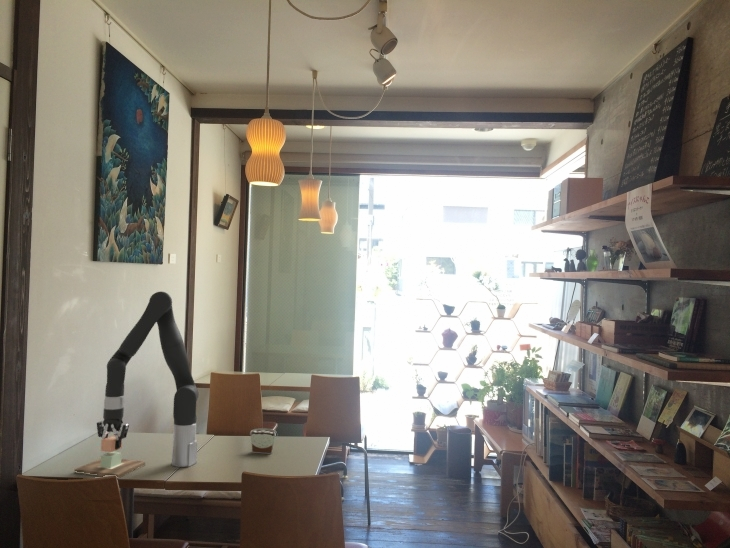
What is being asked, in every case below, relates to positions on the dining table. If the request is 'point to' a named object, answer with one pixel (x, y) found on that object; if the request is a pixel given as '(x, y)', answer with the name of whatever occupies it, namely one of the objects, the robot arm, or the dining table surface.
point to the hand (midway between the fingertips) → (111, 448)
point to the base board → (117, 470)
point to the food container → (262, 440)
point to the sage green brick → (110, 459)
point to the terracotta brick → (109, 444)
